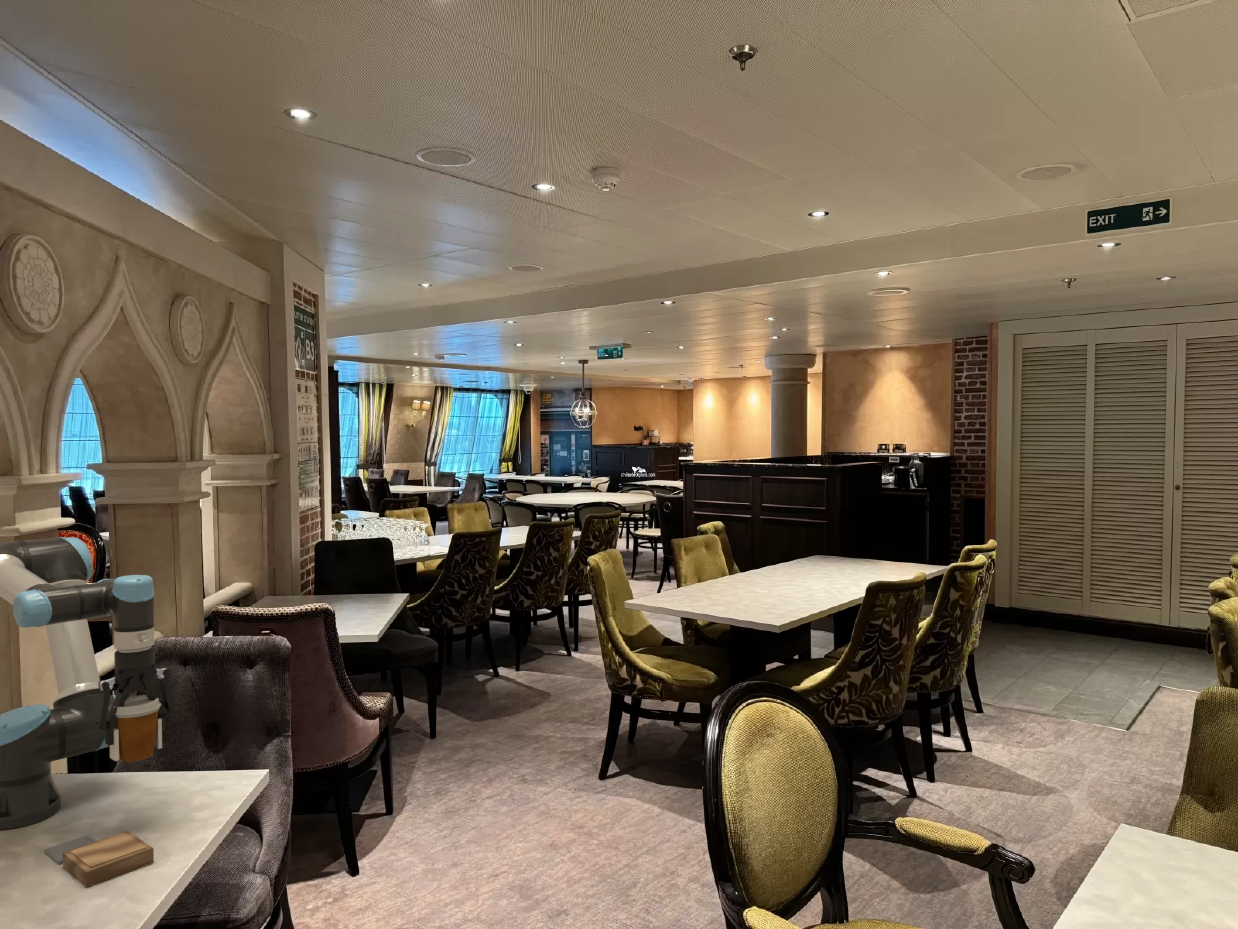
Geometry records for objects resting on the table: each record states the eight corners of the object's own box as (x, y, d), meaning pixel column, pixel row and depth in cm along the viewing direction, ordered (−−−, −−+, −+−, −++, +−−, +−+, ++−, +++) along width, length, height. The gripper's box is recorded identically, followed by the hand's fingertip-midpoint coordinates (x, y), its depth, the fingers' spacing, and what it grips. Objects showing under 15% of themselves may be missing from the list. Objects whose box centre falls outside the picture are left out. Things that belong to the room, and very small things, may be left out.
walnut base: (62, 867, 168) (62, 851, 168) (128, 845, 177) (127, 829, 177) (87, 887, 161) (86, 870, 160) (153, 862, 170) (153, 846, 170)
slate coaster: (44, 852, 174) (44, 849, 174) (87, 838, 180) (87, 835, 180) (59, 864, 169) (59, 861, 169) (103, 849, 175) (103, 846, 175)
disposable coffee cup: (139, 766, 177) (138, 710, 177) (100, 763, 179) (99, 706, 179) (171, 750, 187) (171, 696, 186) (134, 747, 189) (133, 693, 188)
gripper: (87, 661, 172) (89, 772, 173) (192, 641, 188) (193, 743, 189) (73, 655, 176) (75, 763, 177) (176, 636, 193) (177, 735, 194)
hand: (136, 753), depth 183 cm, fingers closed on disposable coffee cup, 8 cm apart
